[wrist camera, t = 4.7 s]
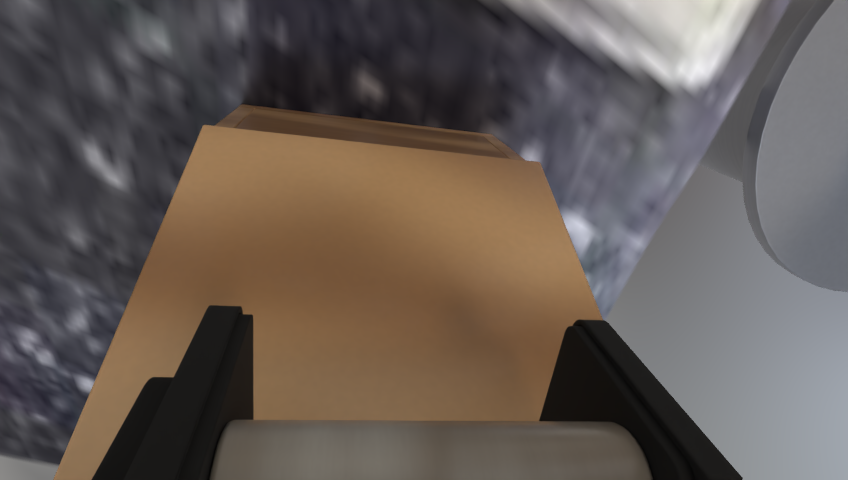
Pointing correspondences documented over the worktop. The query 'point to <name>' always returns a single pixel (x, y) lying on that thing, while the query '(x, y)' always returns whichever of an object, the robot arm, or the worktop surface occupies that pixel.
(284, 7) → the worktop surface
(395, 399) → the lid
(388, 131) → the chest
